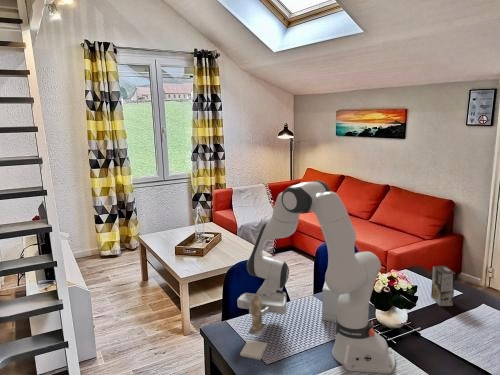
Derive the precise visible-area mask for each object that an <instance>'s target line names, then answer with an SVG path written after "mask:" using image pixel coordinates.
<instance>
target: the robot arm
mask: <svg viewBox="0 0 500 375" xmlns="http://www.w3.org/2000/svg"><path fill="white" fill-rule="evenodd" d="M309 212H311V213H313V214H314V215H315V216H316V218H317V221H318V223H319V226H320V229H321V232H322V235H323V237H324V240H325V244H326V248H327V255H328V256H327V258H328V261H327V262H328V263H327V269H326V272H325V275H324V282H325V281H326V284H327V286H328V288H329V289H330V290H331V291H332V292H333V293H335V294H338V295H340V296H339V298H338V304H337V318H336V322H335V341H334V344H333V348H332V350H331V353H332V357H333V358H334V359H335V360H336V361H337V362H338V363H339V364H341V365H342V366H343V367H344V368H345V370H347V371H349V372H350V371H351V372H361V373H362V372H363V373H375V374H376V373H377V374H378V373H379V374H391V373H393V371H394V369H395V367H396V358H395V354H394V352H393V350H392V349H390V348H389V345H388V343H387V340H386V339H385V338H384V337H383V336H382V335H380V334H379V333H377V332H376V331H375V329H374V328H375V327H374V322H373V320H371V322H370V320H369V311H370V310H369V309H370V302H371V297H372V293H373V290H374V286H375V283H376V280H377V277H378V275H379V273H380V271H381V270H382V264H381V263H382V262H381V260H380V259H379V257H378V256H377V255H376V254H375V253H373V252H372V251H367V250H366V251H359V252H358V251H357V252H355V245H356V240H357V233H356V230H355V228H354V225H353V223H352V221H351V218H350V215H349V212H348V210H347V208H346V206H345V204H344V203H343V201H342V199H341V198H340V196H339V195H338V193H337V192H335V191H331V189H330V187H329V185H328V184H327V183H326V182H324V181H322V180H313V181H305V182H304V181H303V182H299V183H297V184H293V185H290V186H288V187H287V188H285V189H284V190H283V191H281V192H280V193H278V195H277V197H276V201H275V203H274V206H273V210H272V215H271V217H270V218H271V219H270V220H269V221H268V222H264V224H263V225H262V227H261V228H260V230H259V233H258V235H257V237H256V240H255V243H254V246H253V249H252V252H251V254H250V256H249V258H248V259H247V262H246V268H245V269H246V270H247V272H248V274H249V275H250V276H251V277H252V276H253V277H257V278H261V279H263V280H264V281H263V283H262V285H260V287H259V288H258V290H257V291H256V293H250V292H244V293H243V294H240V296H239V297H238V298H237V300H236V302H237V308H239V309H245V310H248V314H249V315H252V298H253V296H260V297H261V305H262V310H261V311H260V316H262V317H264V316H266V315H267V314H268V313H270V314H277V315H284V314H286V312H287V293H286V292H285V291H283V289H284V287H285V285H286V284H287V282H288V279H289V274H290V269H289V268H290V267H289V266H288V264H287V262H286V261H284V260H280V259H277V258H273V257H272V256H271V257H270V256H267V255H265V254H263V253H264V252H263V251H264V249H265V246H266V244H267V241H269V240H273V239H284V238H288V237H290V236H291V235H293V234H294V233H295V232H296V230H297V228H298V225H299V219H300V214H308V213H309Z"/></svg>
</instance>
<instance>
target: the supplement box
mask: <svg viewBox="0 0 500 375" xmlns="http://www.w3.org/2000/svg"><path fill="white" fill-rule="evenodd" d="M321 295H322V296H321V297H322V299H321V300H322V301H321V302H322V305H321V306H322V307H321V312H322V313H321V315H322V316H321V320H322V321H325V322H326V321H327V322H333V323H336V318H337V304H338V298H339V296H340V295H338V294H335V293H333V292H332V291H331V290H330V289H329V288H328V286H327V284H326V281H325V280H324V284H323V287H322V294H321Z"/></svg>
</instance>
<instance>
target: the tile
mask: <svg viewBox="0 0 500 375" xmlns="http://www.w3.org/2000/svg"><path fill="white" fill-rule="evenodd" d="M267 347H268V342H262V341H258V340H252V339H247V341H246V343H245V345H243V348H242V349H241V351H240V353H239V354H240V356H241V357H245V358H249V359H255V360H259V361H260V360H261V359H262V358H263V356H262V355H264V354H263V353H265V352H266V349H267ZM264 351H265V352H264ZM261 357H262V358H261Z"/></svg>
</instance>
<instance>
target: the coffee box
mask: <svg viewBox="0 0 500 375" xmlns="http://www.w3.org/2000/svg"><path fill="white" fill-rule="evenodd" d="M431 276H432V278H431V292H430V297H431V298H432V300H433V301H434V302H435V303H436V304H437V305H438V306H439V307H452V306H453V305H454V294H455V286H456V285H455V283H456V273H455V271H453V270H452V269H451V268H449V267H448V266H447V265H438V266H437V265H436V266H435V265H434V266H432V275H431Z"/></svg>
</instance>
